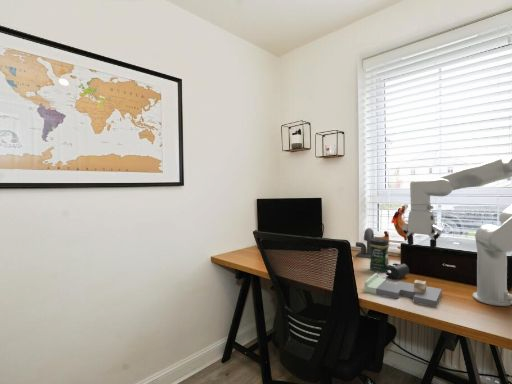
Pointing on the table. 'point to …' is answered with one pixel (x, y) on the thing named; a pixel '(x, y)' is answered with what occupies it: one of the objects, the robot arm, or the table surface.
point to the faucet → (367, 237)
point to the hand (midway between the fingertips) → (421, 246)
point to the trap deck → (402, 290)
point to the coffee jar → (379, 254)
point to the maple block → (420, 286)
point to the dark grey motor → (397, 271)
